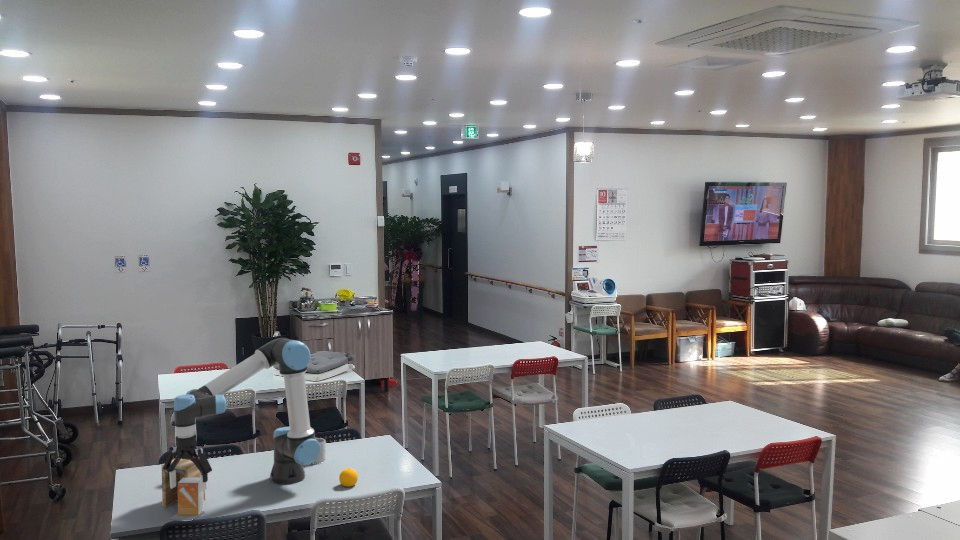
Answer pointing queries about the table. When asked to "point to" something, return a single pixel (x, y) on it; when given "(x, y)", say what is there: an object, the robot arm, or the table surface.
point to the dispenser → (177, 480)
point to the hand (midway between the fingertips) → (188, 488)
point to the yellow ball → (348, 477)
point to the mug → (323, 451)
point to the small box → (190, 496)
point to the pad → (186, 517)
